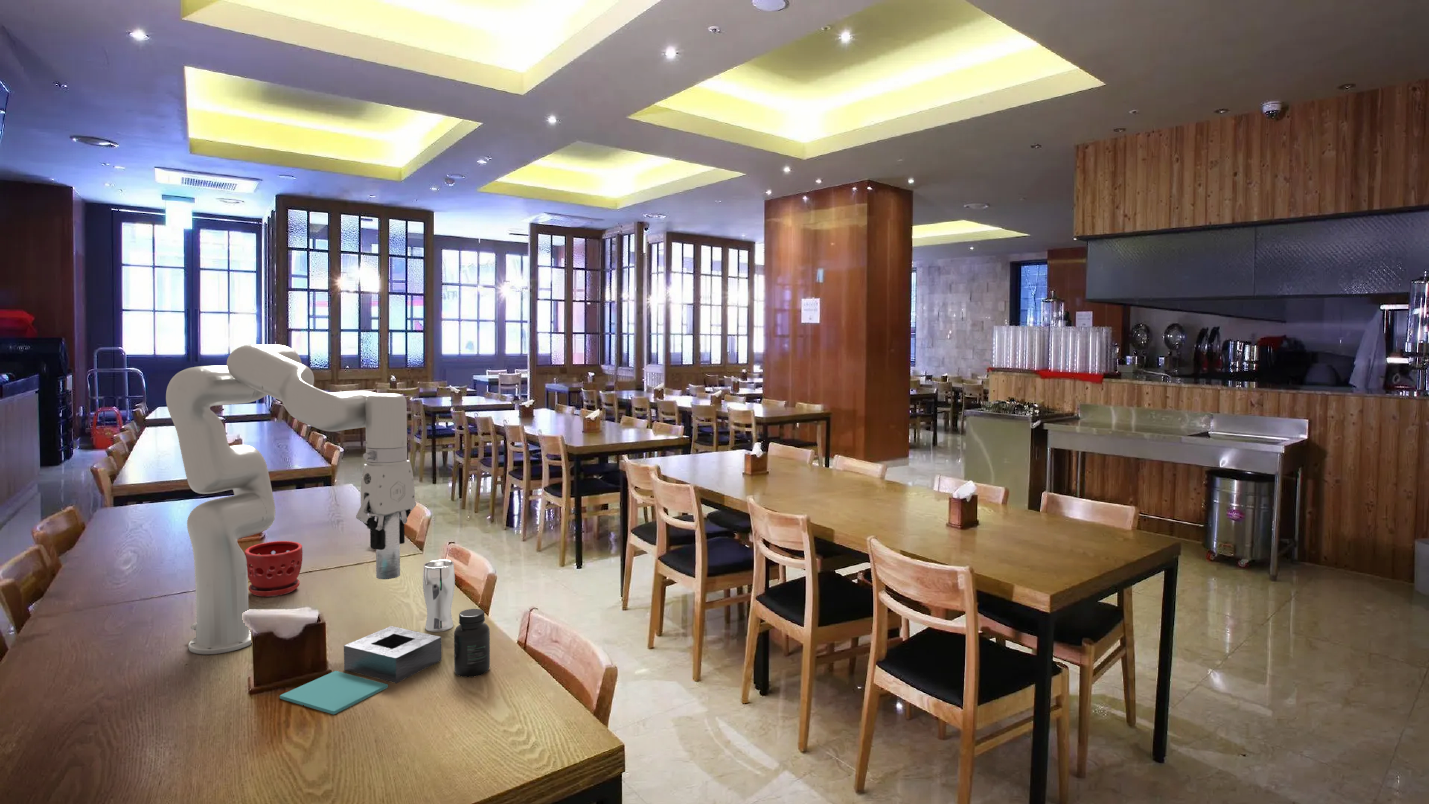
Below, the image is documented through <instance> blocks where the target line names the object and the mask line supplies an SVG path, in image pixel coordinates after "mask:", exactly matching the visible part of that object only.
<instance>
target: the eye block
mask: <svg viewBox="0 0 1429 804" xmlns="http://www.w3.org/2000/svg"><path fill="white" fill-rule="evenodd" d="M442 654H443V653H442V636H439V635H433V634H430V633H424V632H420V631H415V630H410V629H408V628H407V629H406V628H402V627H398V626H393V625H390V626H387V627H385V628H383V629H380V630H378V631H376V632H373V633H371V634H368V635H365V636H364V637H361V638H359V639H356V640H353V641H352V642H349V643H346V644H344V645H343V669H344V671H347V672H351V673H355V674H360V675H363V676H367V677H371V678H374V679H378V680H381V681H386V682H389V683H394V684H398V683H400V682H402V681H404V680H406V679H408V678H410V677H412V676H413V675H416V674H417V673H419V672H422V671H423V670H425V669H427V668H429V667H431V666H432V667H433V666H434V665H436V664H439V661H440V662H442V657H443V656H442Z"/></svg>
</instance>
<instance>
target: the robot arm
mask: <svg viewBox="0 0 1429 804" xmlns="http://www.w3.org/2000/svg"><path fill="white" fill-rule="evenodd" d="M314 385H315V376H314V373H313V371H312V370H311V368H310V367H309V366H307V365H305V364H303V363H302V359H301V357H300V355H299V354H298V353H297V352H296V350H294V349H293V348H292V347H289V346H286V345H284V344H283V345H282V344H246V345H242V346H240V347H237V348H236V349H234V350H233V351H231V353H230V354H229V355H228V357H227V360H226V365H201V366H200V365H199V366H194V367H193V366H192V367H188V368H185V369H183V370H181V371H178V372H177V373H176V374H175V375H174V376H172V378H171V379H170V381H169V383H168V384H167V387H166V393H165V402H166V408H167V410H168V413H169V415H170V418H171V420H172V422H173V426H174V428H175V430H176V434H177V439H178V445H179V448H180V453H181V459H182V464H183V468H184V472H185V477H186V480H187V484H188V486H189V487H190V489H191V490H192V491H193V492H195V493H197V494H200V495H201V494H202V495H205V494H207V495H208V494H215V493H222V492H225V491H230V490H232V491H233V495H228V496H224V497H220V498H215V499H211V500H208V501H205V502H202V503H201V504H199V505H197V506H195V507H194V508H193V509H192V510H191V511H190V513H189V515H188V518H187V521H186V528H187V532H188V537H189V539H190V543H191V547H192V553H193V562H194V563H193V564H194V566H193V567H194V583H195V585H194V586H195V610H196V611H195V612H196V614H195V615H196V616H195V617H196V622H194V623H192V624H191V625H190V629H191V630H192V631H195V637H194V638H192V639H191V640H190V641H189V642H188V644H187V646H188V647H187V648H188V651H189V652H191V653H192V654H198V655H216V654H223V653H230V652H234V651H237V650H241V649H244V648H246V647H249V646H251V645H252V644H251V632H250V630H249V629H250V628H249V629H248V627H247V626H245V623H243V620H242V613H243V612H245V611H247V610H249V608H250V607H249V579H248V571H247V559H246V556H245V551H243V549H242V548H241V546H240V545H239V543H238V540H241V539H243V538H247V537H250V536H254V535H258V534H261V533H262V532H265V531H267V530H268V529H269V528H271V526H272V525H273V524H274V521H275V518H276V504H275V499H274V494H273V489H272V483H271V478H270V473H269V469H268V465H267V462H266V459H265V457H264V456H263V454H262V453H261V452H260V450H258V449H257V448H255V447H254V446H252V445H248V444H236V445H235V444H234V445H230V444H229V442H228V437H227V432H226V429H225V428H226V427H225V426H224V425H225V424H223V422H222V420H221V419H220V417H219V416H218V415H217V414H216V413H215V412H214V411H213V410H211V407H214V406H226V405H227V406H229V405H241V404H249V403H252V402H253V403H254V402H255V401H258V400H260V399H263V398H265V397H266V396H268V397H272V398H274V399H275V400H276V399H277V400H278V401H281V402H282V405H283V406H284V408H285V410H286V411H287V412H288V414H289V415H290V416H291V417H293V418H294V419H296V420H297V421H299V422H301V423H303V424H305V425H308V426H310V427H313V428H314V429H317V430H321V431H325V432H339V431H345V430H353V429H355V430H356V429H361V428H365V452H364V453H363V454H362V458H363V460H365V463H364V465H363V470H362V474H361V475H362V476H361V484H360V507H359V509H358V510H357V513H356V515H355V519H357V520H358V521H360V522H362V523H363V524H364V525H365V526H366V529H368V530H369V532H370V533H369V539H370V542H369V543H370V544H369V545H370V549H374V550H376V549H378V550H383V549H384V548H385V531H384V530H383V529H382V525H383V519H384V515H388V514H392V513H397V512H399V521H400V545H403V544H405V542H406V541H405V537H406V536H405V535H406V534H405V531H406V530H405V524H406V523H408V517H409V516H410V514H411V512H412V511H413V510H414V509H415V507H416V506H417V502H416V490H415V489H416V488H415V480H414V473H413V466H412V463H411V460H409V459H408V444H407V443H408V429H407V428H408V425H407V424H408V423H407V421H408V420H407V417H408V416H407V413H408V412H407V411H408V409H407V408H408V407H407V398H406V397H405V396H404V395H403V394H400V393H393V392H392V393H391V392H389V393H388V392H382V393H377V392H374V391H369V390H349V391H336V392H328V391H325V390H322V389H320V388H318V387H315V386H314ZM376 517H377V520H376Z"/></svg>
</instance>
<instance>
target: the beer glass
mask: <svg viewBox="0 0 1429 804" xmlns="http://www.w3.org/2000/svg"><path fill="white" fill-rule="evenodd" d="M455 580H456V574H455V563H454V561H452V560H450V559H436V560H430V561H427V562H425V563H423V572H422V589H423V590H422V591H423V596H424V601H425V605H426V606H425V608H426V622H425V630H426V631H427V632H431V633H440V632H441V633H442V632H445V631H449V630H451V629H452V628H453V627H454V621H453V620H454V619H453V617H452V606H453V601H454V600H453V599H454V593H455V587H456V581H455Z"/></svg>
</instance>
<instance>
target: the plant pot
mask: <svg viewBox="0 0 1429 804" xmlns="http://www.w3.org/2000/svg"><path fill="white" fill-rule="evenodd" d="M303 551H304V550H303V545H302V544H301V543H299V542H297V541H290V540H274V541H267V542H263V543H262V542H261V543H257V544H255V545H251V546H249V547H247V548H246V549H245V550H244V554H245V556H246V559H247V571H248V582H250V585H248V592H250V593H251V595H254V596H258V597H266V598H267V597H268V598H270V597H278V596H283V595H287V594H289V593H291V592H294V591H295V590H296V589H298V588H299V586H300V583H301V582H300V579H298V577H299V575H300V573H301V569H302V564H303V553H304V552H303ZM272 552H274V554H273V553H272Z"/></svg>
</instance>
